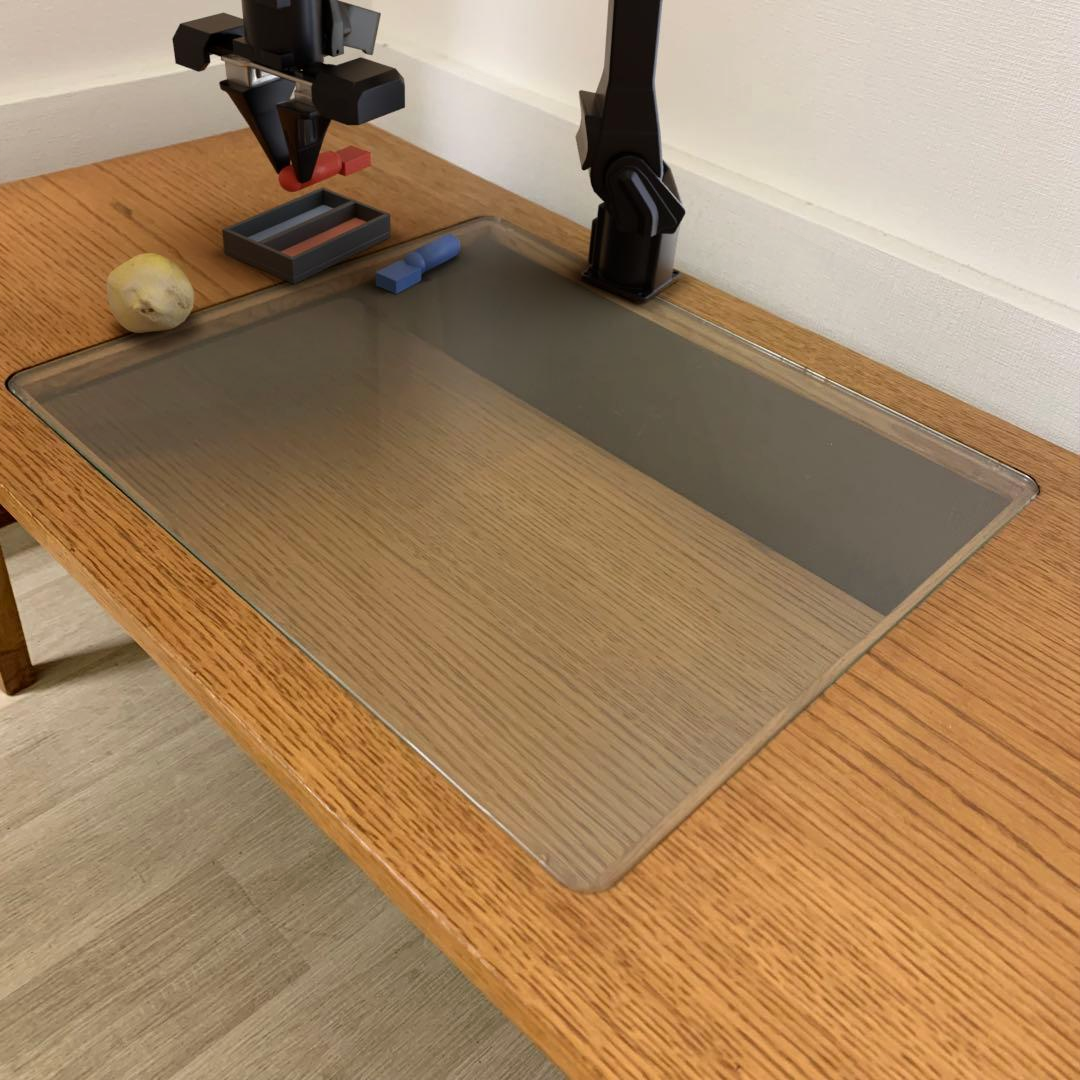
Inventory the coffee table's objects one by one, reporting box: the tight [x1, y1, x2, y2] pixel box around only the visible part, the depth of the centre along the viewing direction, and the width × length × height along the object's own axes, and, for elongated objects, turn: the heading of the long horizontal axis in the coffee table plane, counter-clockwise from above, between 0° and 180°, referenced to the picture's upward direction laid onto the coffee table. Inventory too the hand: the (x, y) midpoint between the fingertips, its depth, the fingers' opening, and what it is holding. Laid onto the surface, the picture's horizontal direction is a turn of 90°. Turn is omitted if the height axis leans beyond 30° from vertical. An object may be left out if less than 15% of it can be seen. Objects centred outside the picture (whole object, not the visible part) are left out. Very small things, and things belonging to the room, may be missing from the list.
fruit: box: [106, 252, 195, 334], centre depth 85 cm, size 6×6×10 cm
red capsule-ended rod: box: [278, 145, 372, 193], centre depth 92 cm, size 9×2×2 cm, turn 145°
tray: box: [221, 187, 392, 285], centre depth 97 cm, size 8×12×2 cm, turn 145°
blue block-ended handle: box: [375, 233, 461, 295], centre depth 95 cm, size 9×2×2 cm, turn 145°
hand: (294, 177), depth 90 cm, fingers closed on red capsule-ended rod, 2 cm apart
